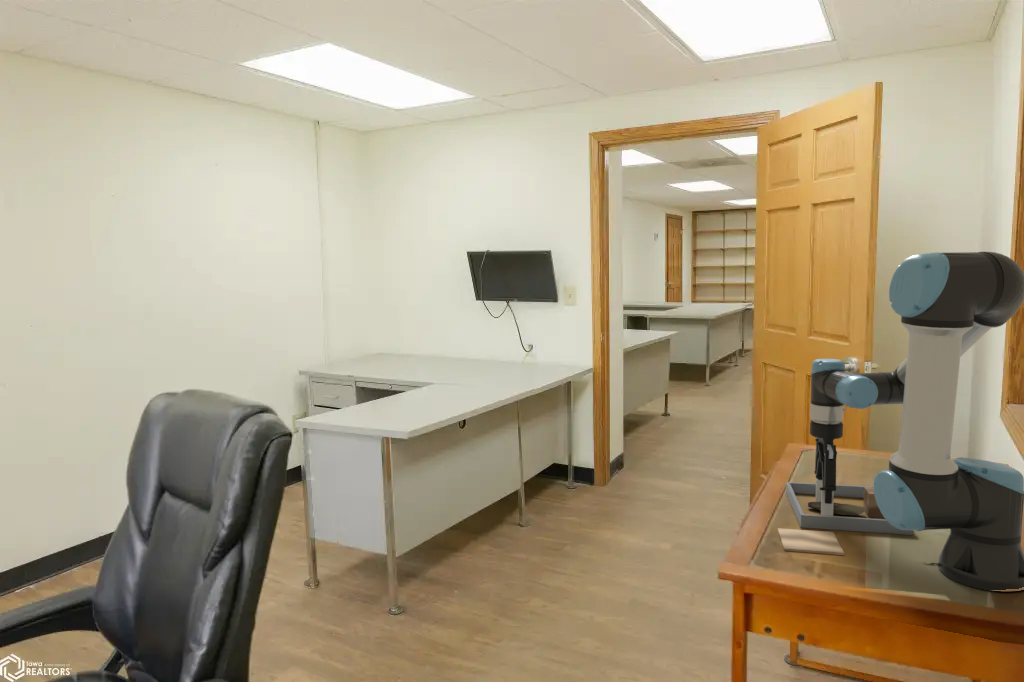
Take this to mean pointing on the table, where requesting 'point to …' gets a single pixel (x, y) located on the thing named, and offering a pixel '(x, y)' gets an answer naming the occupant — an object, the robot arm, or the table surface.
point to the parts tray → (837, 521)
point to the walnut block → (871, 504)
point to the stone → (840, 508)
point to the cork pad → (810, 541)
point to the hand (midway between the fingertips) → (824, 509)
